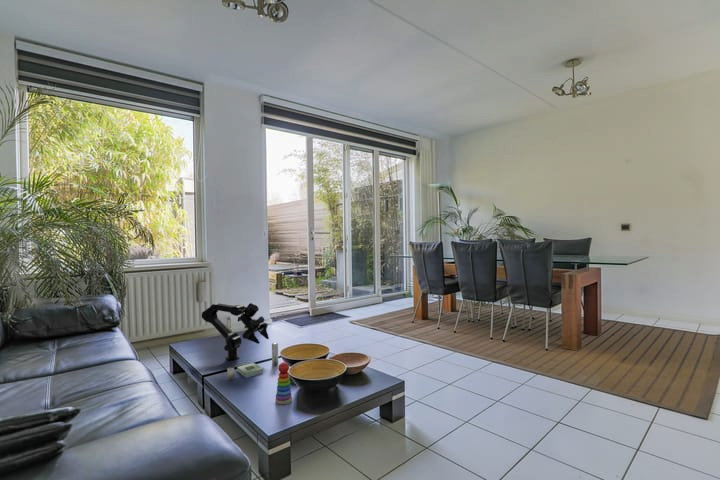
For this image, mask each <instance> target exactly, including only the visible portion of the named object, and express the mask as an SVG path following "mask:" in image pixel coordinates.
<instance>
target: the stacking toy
mask: <svg viewBox="0 0 720 480" xmlns="http://www.w3.org/2000/svg"><path fill="white" fill-rule="evenodd" d="M277 367H278V372H279V373H278V377H277V386H276V394H275V399H274V400H275V403H276V404H277V405H281V406H282V405H288V404H290V403H292V401H293V396H292V389H291V388H292V385H291V381H290V377H289V376H290V372H289V371H290V365H289V363H288V362H285V361H282V362H281V363H280V364H278V366H277Z"/></svg>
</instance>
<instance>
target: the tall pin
mask: <svg viewBox="0 0 720 480" xmlns="http://www.w3.org/2000/svg"><path fill="white" fill-rule="evenodd" d="M277 365H278V366H279V343H278V342H272V343H271V366H272V367H278V366H277Z"/></svg>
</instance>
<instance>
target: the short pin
mask: <svg viewBox="0 0 720 480" xmlns="http://www.w3.org/2000/svg"><path fill="white" fill-rule="evenodd" d="M226 369H227V373H226V376H227V381H234V380H235V367H234V366H230V367H227V368H226Z"/></svg>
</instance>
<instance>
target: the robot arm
mask: <svg viewBox="0 0 720 480" xmlns="http://www.w3.org/2000/svg"><path fill="white" fill-rule="evenodd" d="M259 310H260V309H259V306H257V305H256V304H253V303H252V302H250V303H249V304H248V305H247V306H245V305H243V304H237V305H231V304H230V305H229V304H225V303H219V302H216V303H212V304H211V305H210V306H209V307H208V308H206V309H205V310H203V311H202V312H201V319H202V320H203V321H205V323H206V322H207V323H209V324H211V325H212V326H213V327H214V329H216V330H217V332H219V333H220V334H221V336H222V337H223V338H224V339H225V345H224V347H223V349H224V351H226V352H227V356H226V357H225V360H228V361H229V362H230V361H234V360H235V361H236V360H238V359H240V357H239V356H238V349H239V348H240V347H241V344H242V339H243V340H248V341H251V342H253V343H256V344H257V345H259V344H260V341H259V339H258V338H257V337H256V335H255V333H256V332H258V333H259V334H260V335H261V336H262V337H264V338H265V339H267V340H269V339H270V337H269V334H268V331H267V328H268V326H269V325H268V323H267V322H265V317H263V316H259V317H258V318H257V319H255V318H254V319H253V317H254V316H255V315H256V314H257V312H259ZM219 311H220V312H225V313H230V314H231V315H232V316H235V317H236V316H237V323H238V322H242V324H243V326H244V328H245V329H246V330H244V332H243V333H242V338H241V336H240V335H239V334H238V332H234V333H233V332H231V330H230V329H228V327H226V325H224V323H223V322H222V321H221V320H220V318H219V317H218V312H219Z"/></svg>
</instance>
